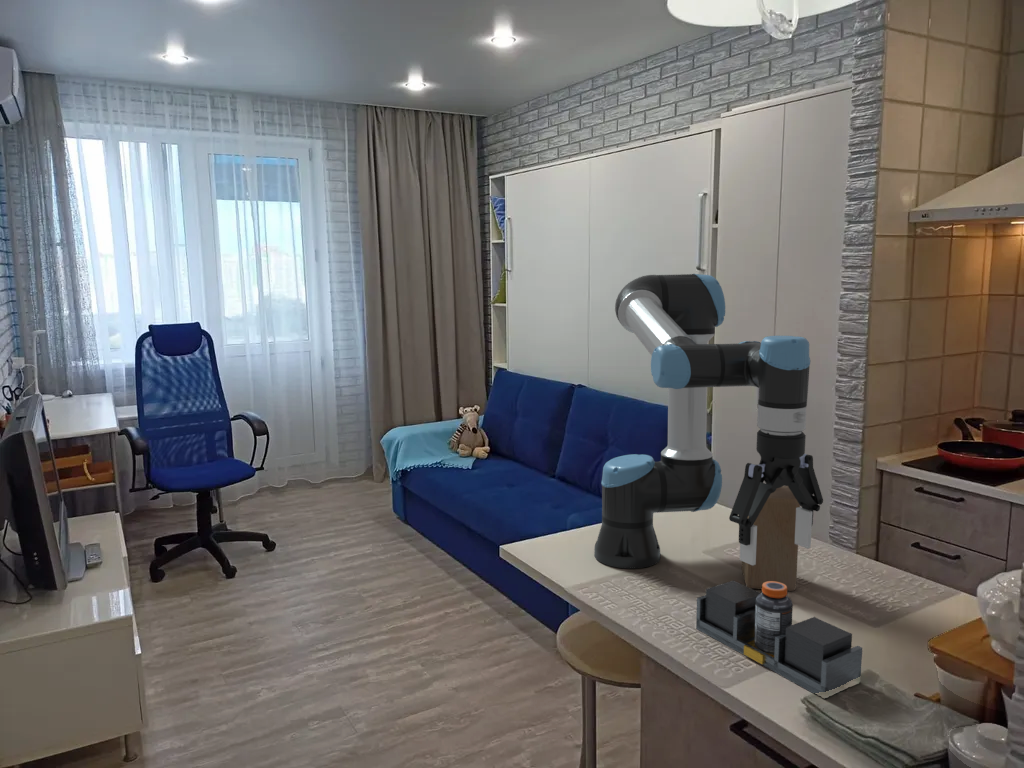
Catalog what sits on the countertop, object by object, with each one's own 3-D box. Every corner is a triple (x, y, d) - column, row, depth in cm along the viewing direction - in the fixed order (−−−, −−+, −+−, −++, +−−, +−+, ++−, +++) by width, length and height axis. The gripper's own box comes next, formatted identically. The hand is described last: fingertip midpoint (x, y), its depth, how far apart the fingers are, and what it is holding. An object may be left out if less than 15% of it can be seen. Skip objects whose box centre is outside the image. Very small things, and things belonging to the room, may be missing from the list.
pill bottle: (778, 637, 130) (781, 576, 129) (798, 654, 124) (801, 590, 123) (747, 641, 129) (749, 579, 127) (765, 658, 123) (768, 593, 122)
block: (796, 593, 151) (801, 498, 148) (745, 589, 153) (748, 496, 150) (788, 574, 160) (792, 484, 158) (740, 570, 162) (743, 482, 160)
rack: (694, 629, 136) (695, 588, 135) (730, 617, 141) (731, 577, 139) (822, 700, 113) (825, 651, 112) (860, 683, 117) (863, 635, 116)
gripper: (745, 444, 112) (740, 577, 115) (849, 425, 124) (842, 546, 127) (709, 435, 118) (705, 561, 121) (811, 418, 131) (805, 533, 134)
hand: (775, 554), depth 124 cm, fingers open, 13 cm apart
